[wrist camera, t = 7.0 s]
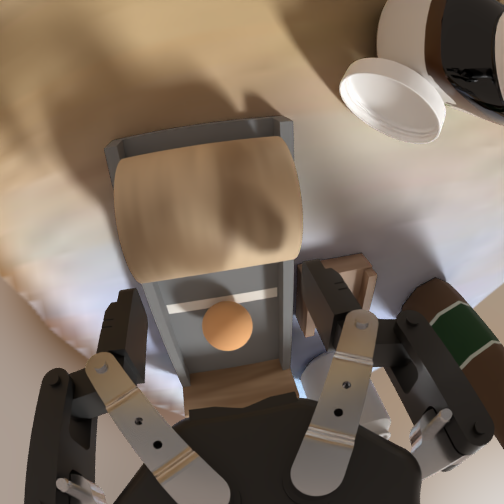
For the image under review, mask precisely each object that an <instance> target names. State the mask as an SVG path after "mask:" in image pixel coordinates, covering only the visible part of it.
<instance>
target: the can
mask: <svg viewBox="0 0 504 504" xmlns="http://www.w3.org/2000/svg"><path fill="white" fill-rule="evenodd" d="M335 353H336V351H331V352H328V353H327V352H325V353H323V354H321V355H319V356H317V357H316V358H314V359H313V360H312V361H311V362H310V363H309V364H308V365H307V367H306V369H305V370H304V372H303V373H302V375H301V382H302V385H303V388H304V391H305V394H306V396H307V399H312V400H316V401H319V398H320V395H321V392H322V390H323V387H324V384H325V381H326V378H327V375H328V372H329V369H330V366H331V363H332V359H333V356H334V354H335ZM359 424H360V425H362V426H363V427H365V428H367V429H369V430H370V431H372V432H374V433H376V434H378V435H379V436H381V437H383V438H385V439H387V440H388V439H389V438H390V436H391V433H389V432H388V429H389V427H390V424H391V419H390V417H389V415H388V413H387V411H386V409H385V407H384V405H383V403H382V401H381V399H380V397H379V395H378V393H377V391H376V389H375V387H374V385H373V383H372V381H371V379H370V381H369V386H368V390H367V394H366V398H365V403H364V407H363V411H362V414H361V418H360V422H359Z"/></svg>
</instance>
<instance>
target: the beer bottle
mask: <svg viewBox="0 0 504 504" xmlns="http://www.w3.org/2000/svg"><path fill="white" fill-rule="evenodd" d="M405 310H414V311H417V312H419V313H420V314H422V315H423V316H424V317H425V318H426V320H427V321H428V323H429V324H430V325H431V327H432V328H433V329H434V331H435V332H436V334H437V335H438V336H439V338H440V339H441V341H442V342H443V343H444V345H445V346H446V348H447V349H448V351H449V352H450V354H451V355H452V356H453V358H454V359H455V361H456V362H457V364H458V365H459V367H460V368H461V370H462V371H463V373H464V374H465V376H466V378H467V379H468V381H469V382H470V384H471V385H472V387H473V389H474V390H475V392H476V393H477V395H478V397H479V398H480V400H481V401H482V403H483V405H484V406H485V408H486V410H487V412H488V413H489V415H490V417H491V418H492V420H493V423H494V427H495V431H494V435H495V437H496V438H497V440H498V441H499V443H500V444H501V446H502V447H503V449H504V347H503V345H502V344H501V343H500V341H499V340H498V339H497V337H496V336H495V335H494V334H493V333H492V331H491V330H490V329H489V328H488V326H487V325H486V324H485V323H484V321H483V320H482V319H481V318H480V317H479V316H478V314H477V313H476V312H475V311H474V310H473V308H472V307H471V306H470V305H469V304H468V303H467V302H466V301H465V299H464V298H463V297H462V296H461V295H460V294H459V293H458V292H457V291H456V290H455V289H454V288H453V287H452V286H451V285H450V284H449V283H447V282H445V281H442V280H440V279H438V278H434V279H432V280H430V281H428V282H426V283H424V284H423V285H421V286H419V287H417V288H416V289H415V290H414V292H413V293H412V294H411V296H410V297H409V298H408V300H407V301H406V302H405V303H404V305H403V306H402V311H405Z"/></svg>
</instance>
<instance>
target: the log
mask: <svg viewBox="0 0 504 504" xmlns="http://www.w3.org/2000/svg"><path fill="white" fill-rule="evenodd" d="M114 209H115V218H116V225H117V231H118V236H119V240H120V244H121V248H122V251H123V255H124V257H125V260H126V263H127V265H128V268H129V270H130V272H131V274H132V275H133V277H134V278H135V279H136V281H137V282H139V283H141V284H143V283H150V282H156V281H163V280H169V279H176V278H182V277H189V276H195V275H201V274H208V273H214V272H220V271H226V270H232V269H239V268H245V267H251V266H257V265H263V264H269V263H275V262H281V261H287V260H293V259H295V258H296V257H297V256H298V254H299V252H300V248H301V243H302V234H303V212H302V200H301V192H300V186H299V181H298V176H297V172H296V168H295V164H294V161H293V158H292V155H291V153H290V150H289V148H288V146H287V144H286V143H285V141H284V140H283V139H282V138H281V137H279V136H271V137H260V138H249V139H240V140H231V141H223V142H215V143H208V144H201V145H194V146H188V147H182V148H175V149H170V150H164V151H158V152H153V153H148V154H143V155H138V156H133V157H128V158H123V159H121V160H120V161H119V163H118V166H117V168H116V173H115V180H114Z"/></svg>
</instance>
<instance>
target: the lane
mask: <svg viewBox="0 0 504 504" xmlns="http://www.w3.org/2000/svg"><path fill="white" fill-rule="evenodd" d="M271 136H279V137H281V138H282V139H283V140H284V141H285V143H286V144H287V146H288V148H289V150H290V153H291V155H292V158H293V161H294V131H293V121H292V120H290V119H288V118H286V117H284V116H271V117H258V118H247V119H237V120H227V121H219V122H211V123H203V124H196V125H190V126H183V127H177V128H171V129H165V130H160V131H154V132H149V133H144V134H139V135H134V136H130V137H125V138H121V139H116V140H112V141H111V142H110V143H109V144H108V145H107V146H106V147H105V148H104V151H105V156H106V160H107V165H108V169H109V173H110V178H111V182H112V186H113V190H114V180H115V173H116V168H117V166H118V163H119V161H120V160H121V159H123V158H128V157H133V156H138V155H143V154H148V153H153V152H158V151H164V150H170V149H175V148H182V147H188V146H194V145H201V144H208V143H215V142H223V141H231V140H240V139H249V138H260V137H271ZM293 285H294V259H293V260H287V261H281V262H275V263H269V264H263V265H257V266H251V267H245V268H239V269H232V270H226V271H220V272H214V273H208V274H201V275H195V276H189V277H182V278H176V279H169V280H163V281H156V282H150V283H143V284H142V287H143V290H144V292H145V295H146V298H147V301H148V304H149V306H150V309H151V312H152V314H153V317H154V320H155V322H156V325H157V327H158V330H159V332H160V335H161V337H162V340H163V342H164V345H165V347H166V350H167V352H168V354H169V357H170V359H171V361H172V364H173V366H174V368H175V371H176V373H177V375H178V377H179V380H180V382H181V384H182V386H183V387H188V386H191V385H190V374H191V373H198V372H205V371H212V370H219V369H225V368H231V367H237V366H243V365H248V364H254V363H259V362H264V361H269V360H274V359H279V361H280V364H281V367H282V370H287V369H290V364H291V343H292V318H293ZM222 301H232V302H236V303H238V304H240V305H242V306H243V307H244V308H245V309H246V310H247V311H248V312H249V314H250V316H251V319H252V324H253V329H252V334H251V336H250V338H249V340H248V341H247V342H246V344H244V345H243V346H242V347H240V348H238V349H236V350H232V351H223V350H219V349H217V348H215V347H213V346H212V345H211V344H210V343H209V342H208V341H207V340H206V338H205V336H204V334H203V330H202V321H203V317H204V315H205V313H206V312H207V310H208V309H209V308H210V307H211V306H213V305H214V304H216V303H218V302H222Z"/></svg>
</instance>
